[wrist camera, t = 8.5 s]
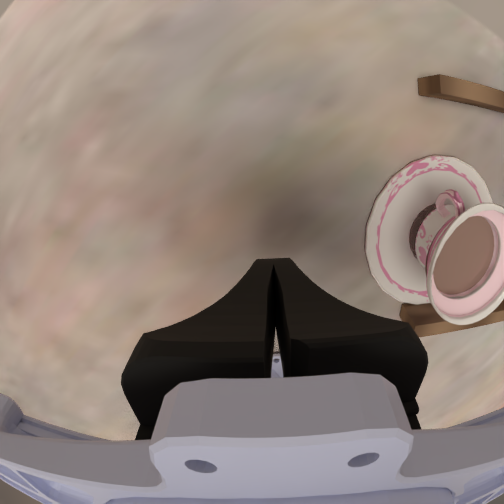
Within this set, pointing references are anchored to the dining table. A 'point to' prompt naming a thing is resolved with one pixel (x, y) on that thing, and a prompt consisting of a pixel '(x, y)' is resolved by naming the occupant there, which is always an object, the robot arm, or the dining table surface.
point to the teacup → (439, 240)
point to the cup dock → (470, 93)
